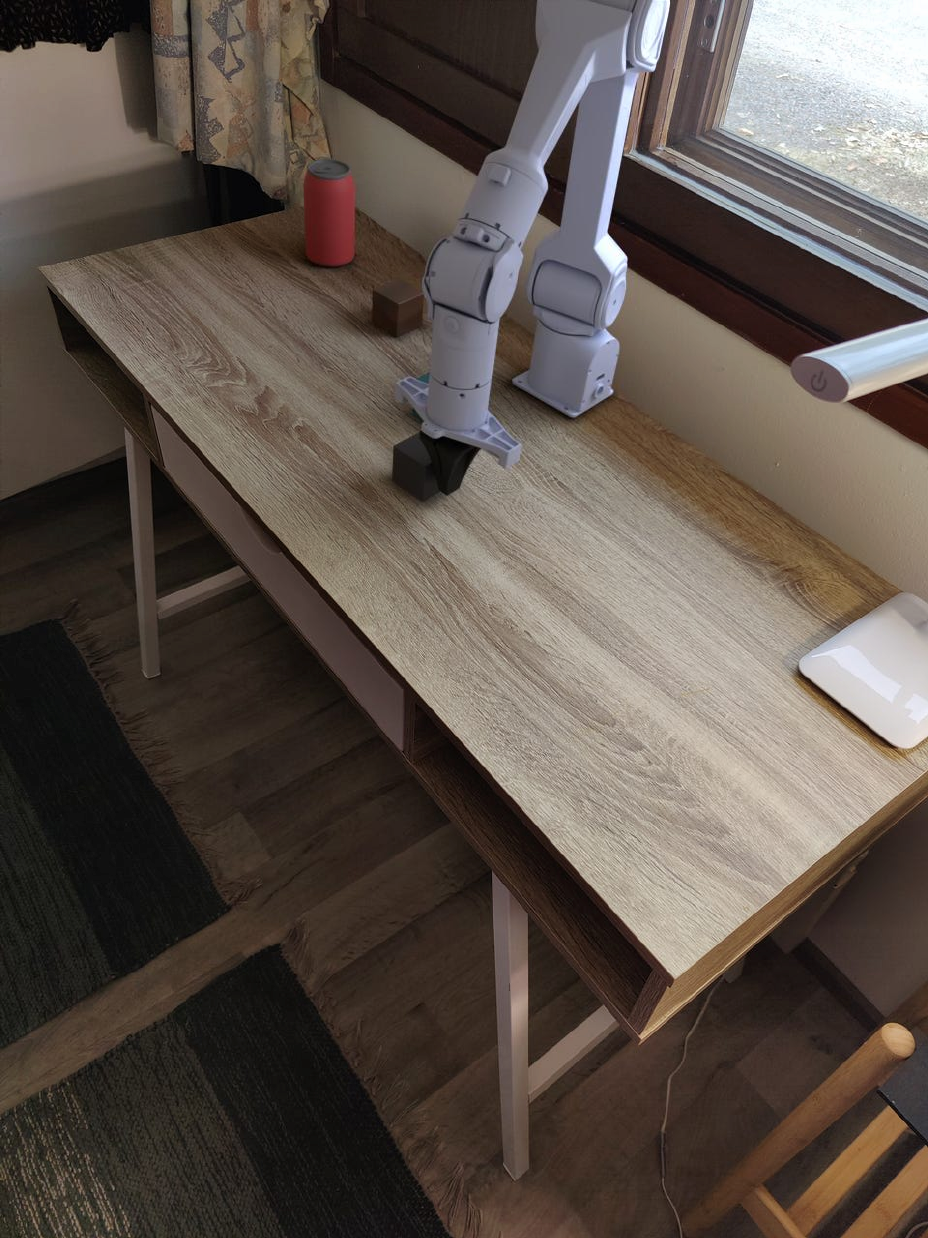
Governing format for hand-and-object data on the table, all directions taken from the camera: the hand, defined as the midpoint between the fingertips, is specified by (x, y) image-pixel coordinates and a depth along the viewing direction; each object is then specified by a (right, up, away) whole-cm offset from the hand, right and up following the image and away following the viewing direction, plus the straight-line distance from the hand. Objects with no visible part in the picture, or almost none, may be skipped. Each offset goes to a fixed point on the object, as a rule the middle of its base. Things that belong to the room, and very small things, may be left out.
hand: (449, 488), depth 96 cm
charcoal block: (-3, +1, +3) cm, 4 cm away
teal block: (-1, +10, +11) cm, 15 cm away
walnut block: (-7, +24, +23) cm, 34 cm away
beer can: (-17, +36, +34) cm, 52 cm away
